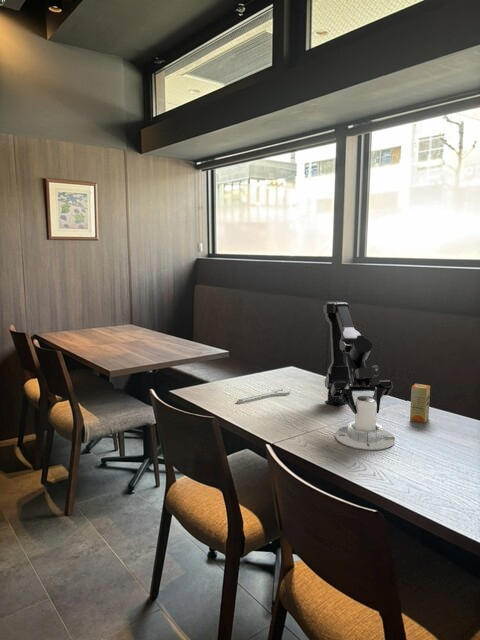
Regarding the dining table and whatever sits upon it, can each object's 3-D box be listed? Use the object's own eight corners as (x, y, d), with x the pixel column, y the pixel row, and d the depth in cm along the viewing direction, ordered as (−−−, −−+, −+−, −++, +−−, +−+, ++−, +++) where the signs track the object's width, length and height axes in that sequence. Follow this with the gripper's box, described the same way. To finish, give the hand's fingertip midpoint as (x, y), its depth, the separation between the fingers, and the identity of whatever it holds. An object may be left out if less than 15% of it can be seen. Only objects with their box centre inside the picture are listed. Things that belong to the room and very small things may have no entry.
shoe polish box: (409, 420, 163) (411, 386, 161) (413, 416, 167) (415, 383, 165) (424, 423, 160) (426, 389, 158) (428, 419, 164) (430, 385, 162)
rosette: (359, 423, 160) (359, 412, 160) (406, 439, 147) (407, 428, 146) (323, 436, 149) (323, 425, 149) (371, 455, 135) (371, 443, 135)
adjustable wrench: (239, 405, 181) (239, 401, 181) (231, 401, 187) (231, 397, 186) (292, 395, 193) (292, 391, 193) (283, 391, 199) (283, 387, 199)
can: (349, 434, 149) (351, 397, 147) (364, 430, 152) (366, 394, 151) (364, 441, 144) (366, 403, 142) (379, 437, 147) (381, 399, 145)
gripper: (333, 356, 148) (342, 402, 138) (392, 355, 149) (404, 400, 139) (327, 374, 157) (334, 418, 147) (382, 373, 158) (393, 416, 148)
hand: (366, 413), depth 145 cm, fingers open, 7 cm apart
